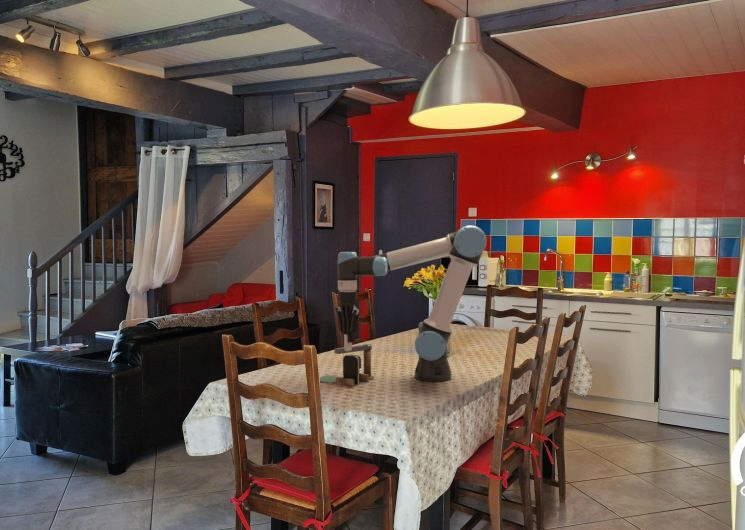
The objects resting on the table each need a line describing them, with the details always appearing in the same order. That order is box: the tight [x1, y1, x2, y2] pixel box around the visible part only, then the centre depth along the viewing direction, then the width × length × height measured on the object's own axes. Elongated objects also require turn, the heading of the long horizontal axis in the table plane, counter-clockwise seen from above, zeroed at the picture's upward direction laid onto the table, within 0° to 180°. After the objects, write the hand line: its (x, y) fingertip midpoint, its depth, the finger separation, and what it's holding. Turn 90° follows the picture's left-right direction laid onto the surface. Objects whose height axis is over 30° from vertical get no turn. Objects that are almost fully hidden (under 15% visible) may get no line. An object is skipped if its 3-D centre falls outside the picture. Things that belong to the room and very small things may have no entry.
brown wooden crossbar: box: [334, 343, 373, 355], centre depth 256 cm, size 4×17×2 cm, turn 126°
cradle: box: [335, 350, 375, 389], centre depth 255 cm, size 8×19×12 cm, turn 146°
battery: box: [342, 354, 362, 386], centre depth 252 cm, size 7×4×11 cm, turn 60°
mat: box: [319, 374, 343, 385], centre depth 258 cm, size 10×10×1 cm
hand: (348, 350), depth 252 cm, fingers closed
